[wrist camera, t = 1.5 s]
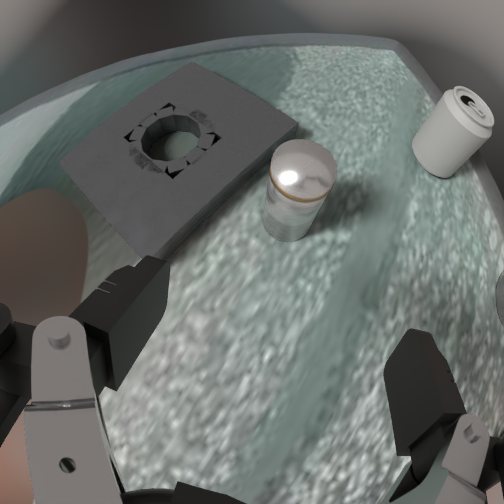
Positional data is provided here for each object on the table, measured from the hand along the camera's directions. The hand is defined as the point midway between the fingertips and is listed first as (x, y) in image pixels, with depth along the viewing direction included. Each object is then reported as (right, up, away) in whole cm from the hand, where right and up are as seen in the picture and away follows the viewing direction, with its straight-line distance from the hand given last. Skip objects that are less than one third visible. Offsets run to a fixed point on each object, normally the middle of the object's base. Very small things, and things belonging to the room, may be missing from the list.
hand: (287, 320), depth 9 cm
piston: (+2, +5, +22) cm, 23 cm away
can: (+24, +15, +26) cm, 39 cm away
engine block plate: (-10, +14, +24) cm, 30 cm away
